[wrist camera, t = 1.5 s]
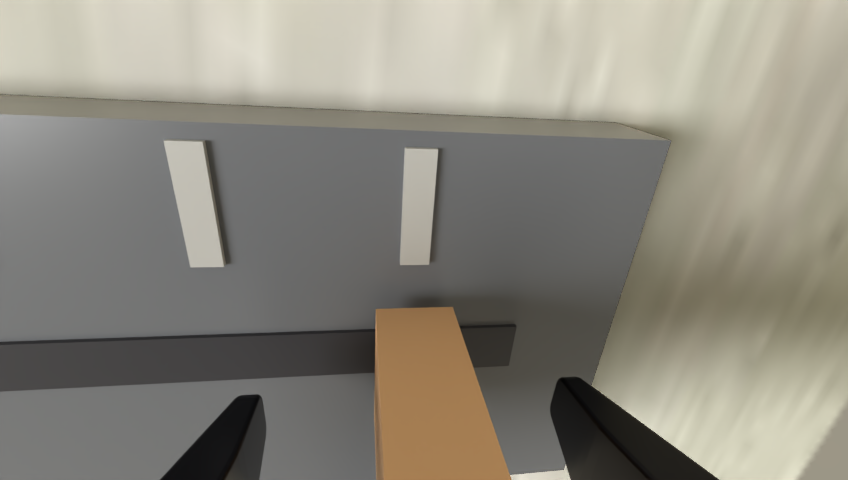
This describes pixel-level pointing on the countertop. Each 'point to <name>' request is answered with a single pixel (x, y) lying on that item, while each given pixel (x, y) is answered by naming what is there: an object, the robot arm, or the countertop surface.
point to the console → (293, 273)
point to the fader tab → (430, 401)
